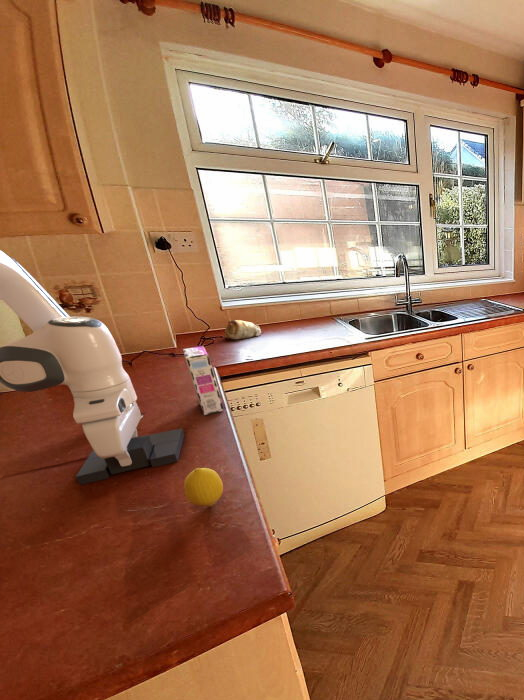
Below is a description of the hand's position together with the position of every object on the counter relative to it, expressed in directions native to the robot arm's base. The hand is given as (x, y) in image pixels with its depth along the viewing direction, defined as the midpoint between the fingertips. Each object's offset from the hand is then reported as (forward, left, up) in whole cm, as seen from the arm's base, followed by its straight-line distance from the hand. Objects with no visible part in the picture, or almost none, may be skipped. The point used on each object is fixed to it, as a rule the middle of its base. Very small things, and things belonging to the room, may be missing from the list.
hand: (131, 455), depth 90 cm
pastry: (+21, +109, -2) cm, 111 cm away
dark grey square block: (0, 0, -2) cm, 2 cm away
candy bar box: (+13, +26, -2) cm, 29 cm away
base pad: (0, +3, -2) cm, 4 cm away
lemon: (+15, -26, -2) cm, 30 cm away
